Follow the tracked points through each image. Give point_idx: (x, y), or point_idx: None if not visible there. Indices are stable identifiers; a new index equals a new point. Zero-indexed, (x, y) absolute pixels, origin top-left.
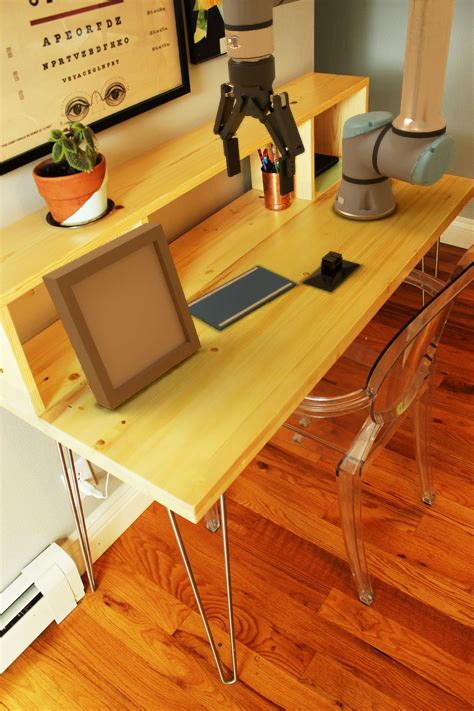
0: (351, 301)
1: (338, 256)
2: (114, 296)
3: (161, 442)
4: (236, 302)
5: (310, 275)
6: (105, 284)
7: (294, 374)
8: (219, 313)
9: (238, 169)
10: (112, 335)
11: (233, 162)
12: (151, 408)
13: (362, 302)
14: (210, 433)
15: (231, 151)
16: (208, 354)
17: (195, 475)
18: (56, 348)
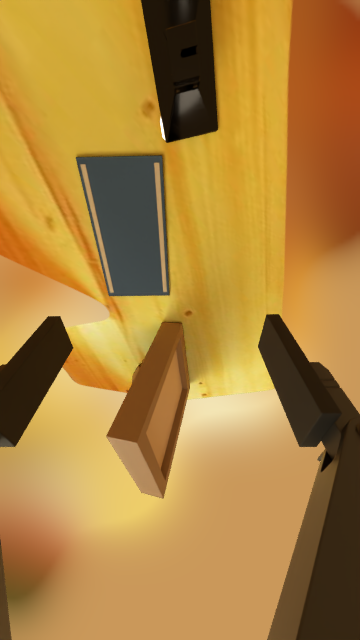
0: (259, 128)
1: (195, 41)
2: (160, 430)
3: (232, 379)
4: (141, 252)
5: (160, 111)
6: (157, 446)
7: (271, 292)
8: (146, 278)
9: (57, 331)
10: (171, 410)
11: (49, 363)
12: (204, 370)
13: (276, 116)
14: (253, 362)
15: (31, 399)
16: (189, 319)
17: (267, 380)
18: (98, 377)
